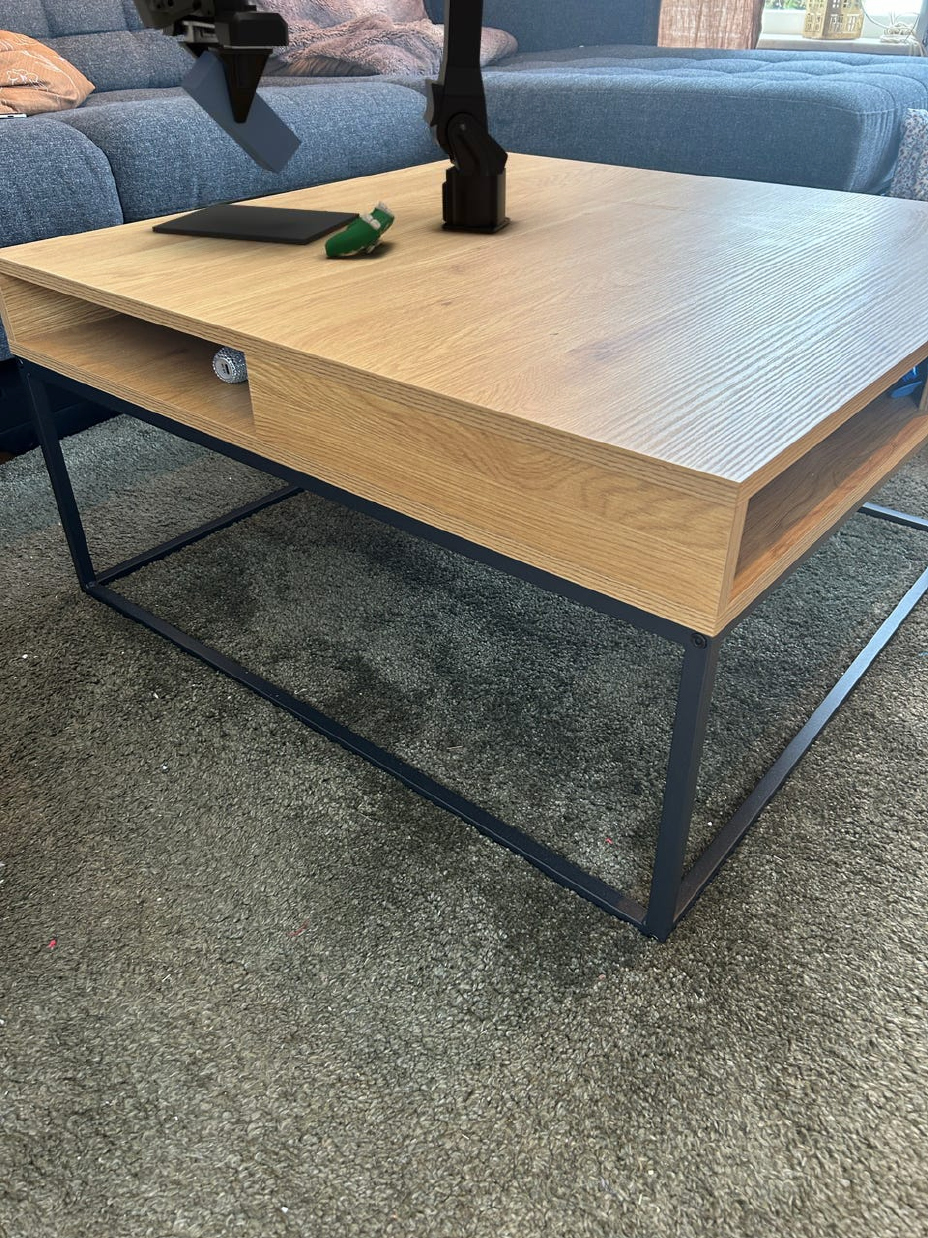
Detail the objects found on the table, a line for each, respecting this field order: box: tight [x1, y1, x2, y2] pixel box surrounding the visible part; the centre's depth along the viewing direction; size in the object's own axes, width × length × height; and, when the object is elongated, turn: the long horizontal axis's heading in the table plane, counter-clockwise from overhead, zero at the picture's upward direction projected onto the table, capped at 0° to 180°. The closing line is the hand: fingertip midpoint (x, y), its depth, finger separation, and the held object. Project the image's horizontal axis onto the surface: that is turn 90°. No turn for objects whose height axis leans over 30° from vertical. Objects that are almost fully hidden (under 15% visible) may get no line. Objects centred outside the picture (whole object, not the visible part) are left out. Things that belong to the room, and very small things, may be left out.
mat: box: [151, 203, 361, 245], centre depth 114 cm, size 20×14×1 cm
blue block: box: [179, 51, 303, 175], centre depth 103 cm, size 4×4×12 cm
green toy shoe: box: [324, 200, 396, 258], centre depth 103 cm, size 9×4×6 cm
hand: (231, 120), depth 102 cm, fingers closed on blue block, 4 cm apart
